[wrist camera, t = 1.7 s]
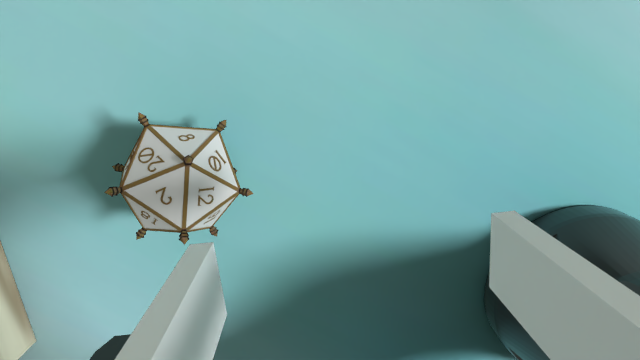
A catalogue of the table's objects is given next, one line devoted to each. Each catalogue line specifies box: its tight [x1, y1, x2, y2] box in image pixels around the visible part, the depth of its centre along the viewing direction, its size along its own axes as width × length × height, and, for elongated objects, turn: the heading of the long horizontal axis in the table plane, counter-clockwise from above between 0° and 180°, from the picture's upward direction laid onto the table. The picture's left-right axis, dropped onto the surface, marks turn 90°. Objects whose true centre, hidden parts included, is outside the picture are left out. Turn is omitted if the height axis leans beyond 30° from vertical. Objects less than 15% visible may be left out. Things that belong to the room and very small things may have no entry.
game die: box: [104, 113, 253, 245], centre depth 26 cm, size 9×8×10 cm
